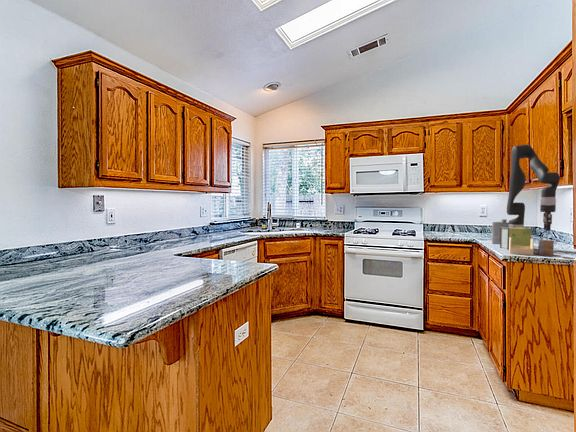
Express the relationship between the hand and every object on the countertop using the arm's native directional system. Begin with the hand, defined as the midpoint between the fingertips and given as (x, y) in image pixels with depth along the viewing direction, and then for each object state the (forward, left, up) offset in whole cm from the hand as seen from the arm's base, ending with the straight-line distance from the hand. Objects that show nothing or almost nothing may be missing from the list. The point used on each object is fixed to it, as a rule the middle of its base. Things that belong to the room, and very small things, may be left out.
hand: (547, 230), depth 208 cm
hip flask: (-49, -21, -16) cm, 56 cm away
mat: (0, 0, -16) cm, 16 cm away
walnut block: (0, 0, -16) cm, 16 cm away
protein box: (-20, -15, -17) cm, 30 cm away
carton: (0, -13, -16) cm, 21 cm away
